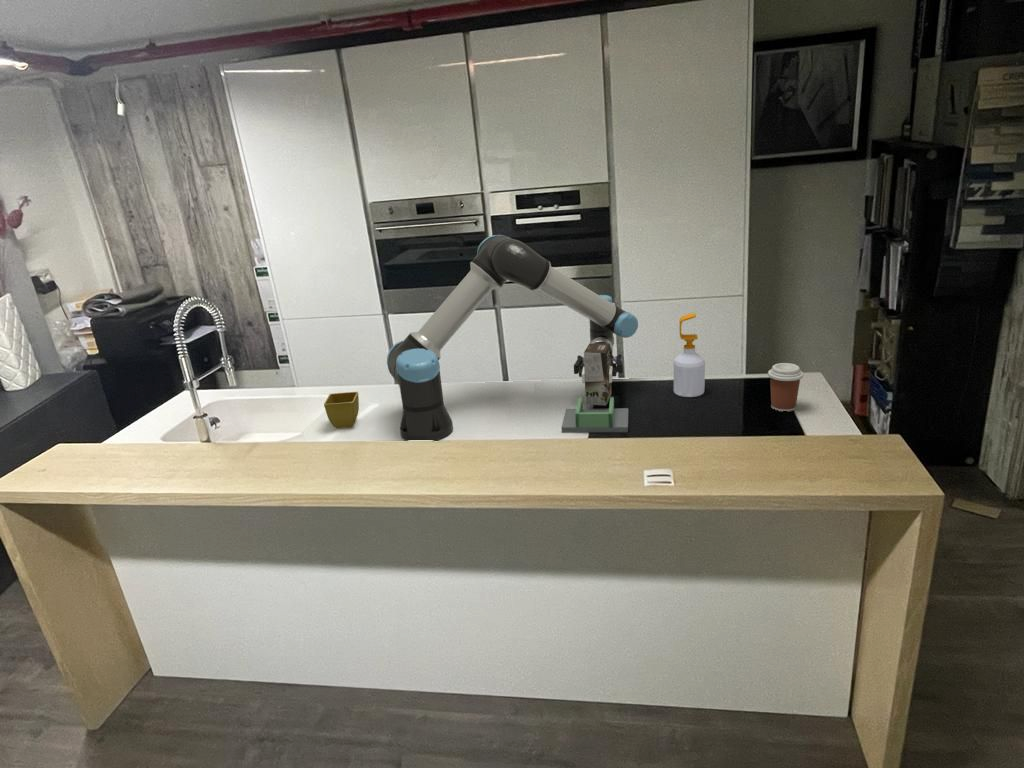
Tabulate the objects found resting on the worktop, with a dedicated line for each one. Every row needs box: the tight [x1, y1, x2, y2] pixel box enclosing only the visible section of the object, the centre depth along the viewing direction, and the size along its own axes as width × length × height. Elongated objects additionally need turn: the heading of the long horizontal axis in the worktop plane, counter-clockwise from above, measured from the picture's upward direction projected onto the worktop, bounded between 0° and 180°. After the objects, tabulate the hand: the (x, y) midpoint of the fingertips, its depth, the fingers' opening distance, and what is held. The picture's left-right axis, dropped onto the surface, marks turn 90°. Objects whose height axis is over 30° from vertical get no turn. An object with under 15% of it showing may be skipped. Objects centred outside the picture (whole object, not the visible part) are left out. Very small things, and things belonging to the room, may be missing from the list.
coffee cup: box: [767, 362, 804, 412], centre depth 188 cm, size 9×9×12 cm
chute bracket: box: [561, 396, 629, 433], centre depth 190 cm, size 18×13×6 cm
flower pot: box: [323, 391, 360, 429], centre depth 203 cm, size 9×9×9 cm
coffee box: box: [583, 342, 612, 406], centre depth 196 cm, size 9×6×16 cm
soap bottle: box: [673, 312, 706, 398], centre depth 202 cm, size 9×9×25 cm
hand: (596, 378), depth 192 cm, fingers closed on coffee box, 7 cm apart
